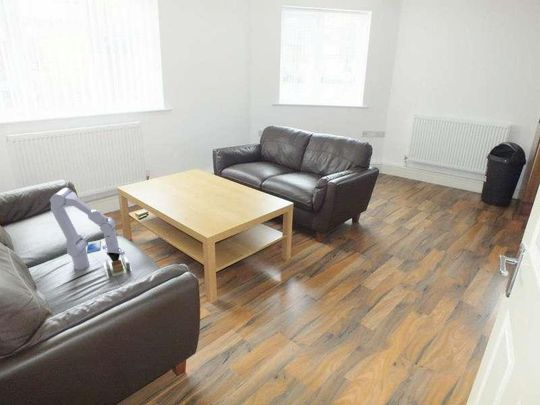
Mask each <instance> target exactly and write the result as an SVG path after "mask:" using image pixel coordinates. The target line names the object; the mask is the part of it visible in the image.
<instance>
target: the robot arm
mask: <svg viewBox="0 0 540 405" xmlns="http://www.w3.org/2000/svg"><path fill="white" fill-rule="evenodd" d="M49 202H50V210H51V213H52V214H53V216H54V218H55V220H56V222H57V224H58V226H59V227H60V229H61V231H62V233H63V235H64V237H65V239H66V242H65V247H66V252H67V254H68V255H69V256H70V257H71V259H72V263H73V264H72V265H73V267H74V269H75V270H78V271H80V270H85V269H86V268H88V267H90V260H89V257H88V254H87V248H86V247H87V246H88V242H87V240H86V239H85V238H84V237H83V236H82V235H81V234H78V232H77V230H76V229H75V228H76V227H75V226H74V224H73V222H72V221H71V219H70V217H69V215H68V213H67V211H66V209H65V207H74V208H76V209H77V210H79V211H81V212H82V213H84V214H86V215H87V217H88V218H87V219H88V220H90V221H91V222H93V223H94V224H95V225H97V226H98V227H100V228H99V229H100V231H101V233H103V237H104V241H105V244H103V245H101V248H102V249H103V250H105V253H106V255H107V256H108V257H109V258H110V259H111V260H110V261H117V260H119V259H120V257H121V256H122V255H123V256H124V255H126V254H125V253H126V252H125V250H123V249H122V248H121V247H120V246H119V241H118V237H117V232H116V225H117V222H116V220H115V219H114V218H113V217H109V216H106V215H105V214H103V213H102V211H100V210H98V209H92V207H90V206H89V205H88V204H87V203H85V202H84V201H83V200H82V199H81V198H79V197H78V196H77V194H76V192H75V191H73V190H72V189H70V188H68V187H63V188H61V189H60V190H58V191H57V192H56V193H54V194H53V195H52V196H51V197H50V199H49Z"/></svg>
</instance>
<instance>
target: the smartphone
mask: <svg viewBox="0 0 540 405" xmlns="http://www.w3.org/2000/svg"><path fill="white" fill-rule="evenodd" d="M101 243H102V241H101V239H97V240H92V241H88V242H87V246H86V247H87V248H86V252H87V255H89V254H93V253H98V252H100V251H102V250H101V249H102V244H101Z"/></svg>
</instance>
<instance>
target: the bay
mask: <svg viewBox="0 0 540 405" xmlns="http://www.w3.org/2000/svg"><path fill="white" fill-rule="evenodd" d="M119 260H121V262H122V265H123V269H124V271H120V272H117V273H114V270H113V267H112V262H113V261H112V260H108V258H107V259H105V261H104V262H103V263H102V264H103V267H104V268H103V269H104V271H105V274H106V277H107V279H108V278H111V277H114V276H119V275H122V274H125V273H128V272H132V271H133V270H132V268H131V264H130V262H129V260H128V258H127V256H124V255H120V257H119Z"/></svg>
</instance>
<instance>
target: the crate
mask: <svg viewBox="0 0 540 405" xmlns="http://www.w3.org/2000/svg"><path fill="white" fill-rule="evenodd" d="M112 267H113V270H114V273H117V272H120V271H124V269H123V265H122V262H121V260H117V261H113V262H112Z"/></svg>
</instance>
